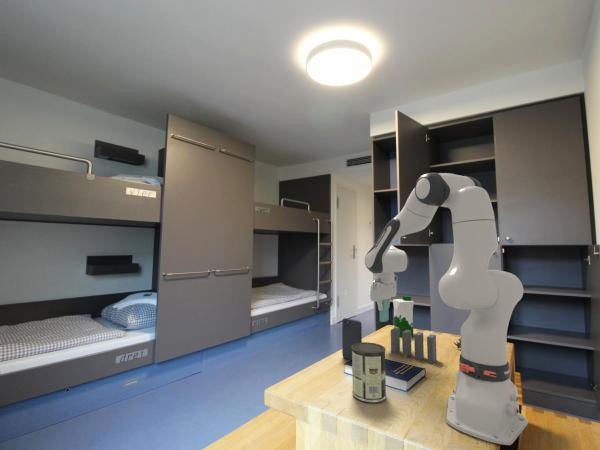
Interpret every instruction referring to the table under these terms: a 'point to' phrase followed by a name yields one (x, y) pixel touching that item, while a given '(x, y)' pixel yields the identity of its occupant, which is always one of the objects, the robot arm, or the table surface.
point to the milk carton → (403, 314)
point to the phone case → (350, 336)
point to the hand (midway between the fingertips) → (383, 309)
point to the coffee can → (368, 372)
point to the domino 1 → (384, 311)
